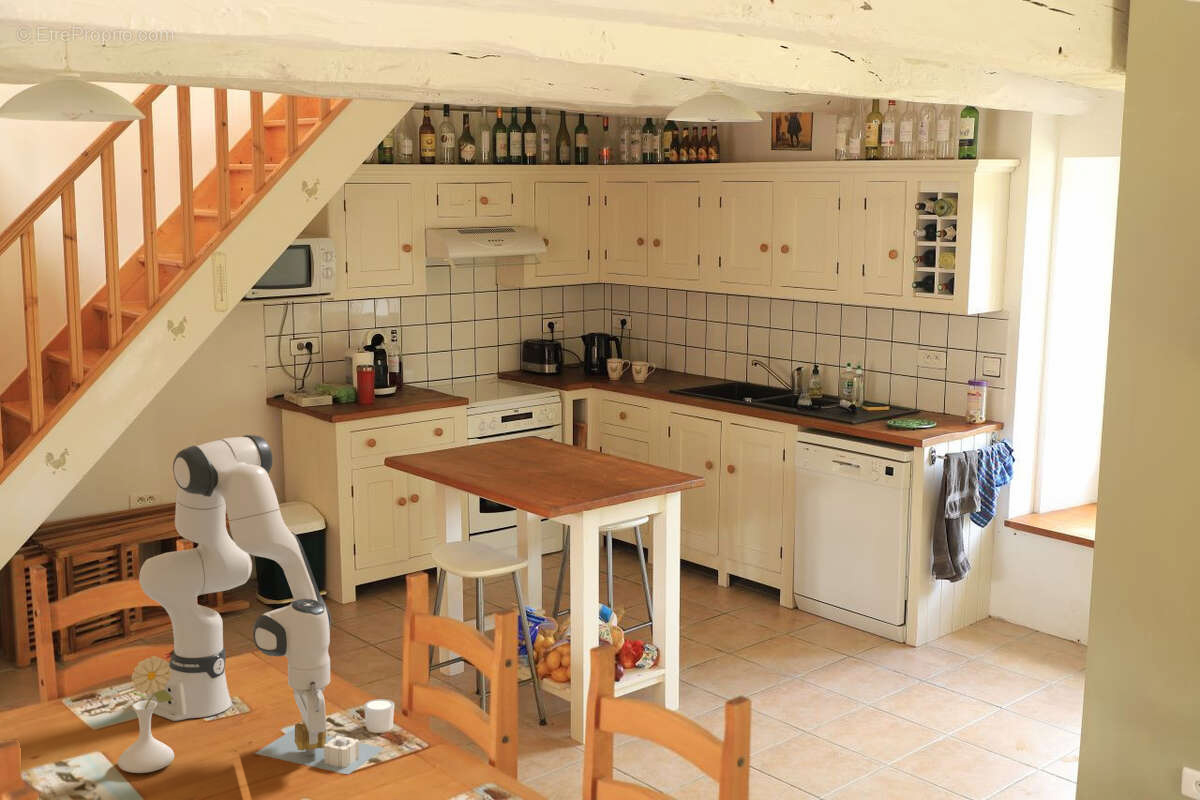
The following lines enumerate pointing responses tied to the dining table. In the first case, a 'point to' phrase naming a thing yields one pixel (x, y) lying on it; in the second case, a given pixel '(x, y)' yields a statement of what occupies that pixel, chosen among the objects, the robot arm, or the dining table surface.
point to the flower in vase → (148, 718)
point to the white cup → (379, 715)
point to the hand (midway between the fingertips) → (310, 736)
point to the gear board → (314, 760)
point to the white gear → (341, 752)
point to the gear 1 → (302, 738)
